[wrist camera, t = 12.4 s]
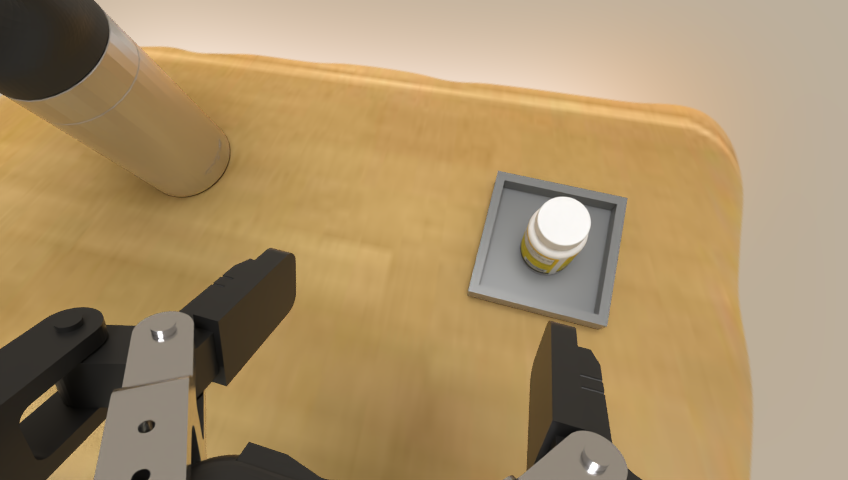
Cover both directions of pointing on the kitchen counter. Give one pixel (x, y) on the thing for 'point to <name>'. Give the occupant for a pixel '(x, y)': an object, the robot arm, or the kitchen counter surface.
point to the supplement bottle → (555, 235)
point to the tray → (556, 293)
